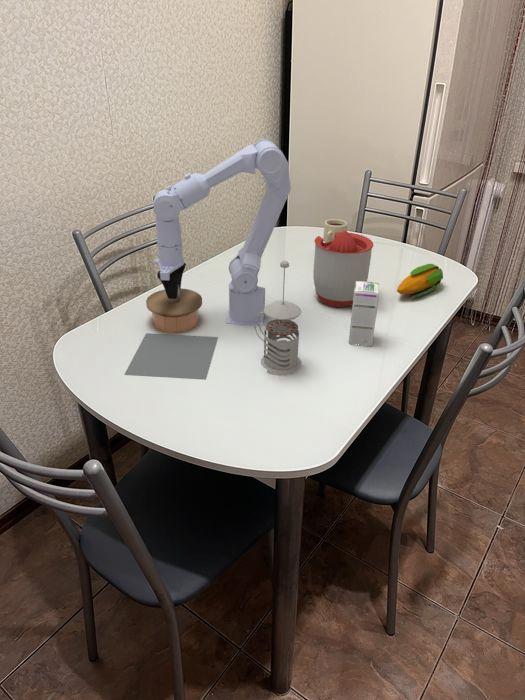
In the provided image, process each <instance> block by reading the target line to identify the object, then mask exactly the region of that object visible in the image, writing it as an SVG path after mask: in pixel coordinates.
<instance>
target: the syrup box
mask: <svg viewBox="0 0 525 700" xmlns="http://www.w3.org/2000/svg"><path fill="white" fill-rule="evenodd" d="M379 294H380V283H379V282H372V281H367V282H363V281H356V284H355V288H354V297H353V305H352V306H351V307H352V308H351V309H352V310H351V316H350V326H349V327H350V329H349V337H348V344H349V345H354V344H357V345H356V346H361V345H367V346H366V347H372V346H373V340H374V334H375V328H376V327H375V325H376V321H377V312H378V303H379ZM358 344H359V345H358Z"/></svg>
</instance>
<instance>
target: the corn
mask: <svg viewBox="0 0 525 700" xmlns="http://www.w3.org/2000/svg"><path fill="white" fill-rule="evenodd" d="M443 279H444V273H443V270H442V268H440V267H439V266H438V265H437V264H436V265H435V264H434V263H427V264H424V265H421V266H417V267H415V268H414V269H412V270H411V271H410V273H409V275H408V276H406V277H405V278H404V279H403V280H401V283H399V285H398V286H397V289H396V292H397V293H398V294H399V295H413V294H415V295H413V296H412V297H411V299H414V298H417V297H420V296H423V295H424V294H427V293H429V292H431V291H434V290H436V289H437V288H438V287H439V285H440V284H441V281H442V280H443ZM430 287H431V288H430ZM428 288H429V289H428ZM424 290H425V291H424ZM421 291H423V292H421ZM419 292H420V293H419ZM416 293H418V294H416Z"/></svg>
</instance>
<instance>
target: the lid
mask: <svg viewBox="0 0 525 700" xmlns="http://www.w3.org/2000/svg"><path fill="white" fill-rule="evenodd" d="M145 301H146V302H145V305H146V309H147V310H148V311H149V312H151V314H152V313H155V314H158V315H162V316H181V315H186V314H190V313H192V312H194V311H196V310H198V311H199V309H200V308H201V307H202V305H203V297H202V295H201V294H200V293H198V292H197V291H194V290H193V289H189V288H188V289H187V288H182V287H181V288H180V289H179V284H178V294H177V298H176V299H168V297H167V294H166V291H165V289H162V290H158V291H156V292H153V293H152V294H150V295H149V296H147V299H146V300H145Z"/></svg>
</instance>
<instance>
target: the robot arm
mask: <svg viewBox="0 0 525 700" xmlns="http://www.w3.org/2000/svg"><path fill="white" fill-rule="evenodd" d="M256 169H257V170H258V171H259V172H260V174H261V175H262V176H263V178H264V179H263V180H264V181H265V184H266V186H267V188H266V191H265V193H264V195H263V198H262V200H261V203H260V205H259V208H258V210H257V212H256V215H255V217H254V220H253V223H252V225H251V227H250V229H249V232H248V235H247V237H246V240H245V241H244V244H243V245H242V247H241V248H240V249H239V250H238V252H237V255H236V256H235V257H233V258H232V259H231V261H230V262H229V264H228V272H229V275H230V277H231V281H230V283H229V284H228V302H229V305H228V308H229V311H228V314H227V319H226V322H225V323H226V324H227V325H245V326H254V320H255V318H256V316H257V315H258V314H259V313H261V312H262V311H263V310H264V308H265V307H266V288H265V287H263V286H258V282H259V279H258V275H259V272H260V270H261V264H262V263H261V262H262V257H263V254H264V252H265V249H266V247H267V245H268V242H269V240H270V238H271V237H272V236H271V235H272V233H273V231H274V229H275V227H276V226H277V225H276V224H277V222H278V220H279V218H280V216H281V213H282V210H283V209H284V206H285V203H286V201H287V199H288V197H289V195H290V192H291V189H292V188H291V179H290V171H289V162H288V160H287V158H286V156H285V155H284V153H283V151H282V150H281V149H280V148H279V147H277V144H276V143H275V142H273V141H272V140H270V139H268V138H262V139H259V140H258V141H256V142H255V143H254V144H253V143H252V144H249V145H246V146H245V147H244V148H243V149H241V150H239V151H237V152H236V153H235V154H233V155H232V156H230V157H228V158H227V159H225V160H224V161H222V162H221V163H219V164H218V165H216V166H214V167H213V168H211V169H210V170H208V171H206V172H205V173H204V174H202V173H197V172H194V173H192V174H191V173H190V172H187V174H185V175H184V179H182V180H180V181H178V182H177V183H175V184H174V185H171V184H169V185H168V186H166V189H162V190H160V191H158V192H156V194H155V196H154V198H153V202H152V203H153V211H154V215H155V222H156V223H155V230H156V231H155V232H156V243H157V251H158V253H157V254H158V258H155V259H154V265H158V266H159V270H158V272H157V273H156V274H157V278H158V280H159V281H160V282H161V285H162V286H163V288H164V289H163V290H165V291H166V294H167V297H168V299H176V298H177V294H178V284H179V289H180V288H182V279H183V275H184V274H183V273H184V271H185V268H186V266H187V263H186V262H185V260H184V255H183V242H182V241H183V240H182V227H181V226H182V225H181V222H180V219H179V216H180V213H181V211H183V210H186V209H188V208H189V207H191V206H194V205H195V204H197V203H198V202H201V200H204V199H205V198H207V197H209V195H210V191H211V189H212V188H213V187H215V186H217V185H219V184H222V183H223V182H225V181H227V180H229V179H231V178H232V177H235V176H237V175H238V174H240V173H245V174H251V175H256V174H257V171H256ZM258 317H259V315H258V316H257V318H256V321H255V326H259V325H258ZM264 319H265V314H264V313H261V315H260V318H259V324H260V326H263V325H264Z"/></svg>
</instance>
